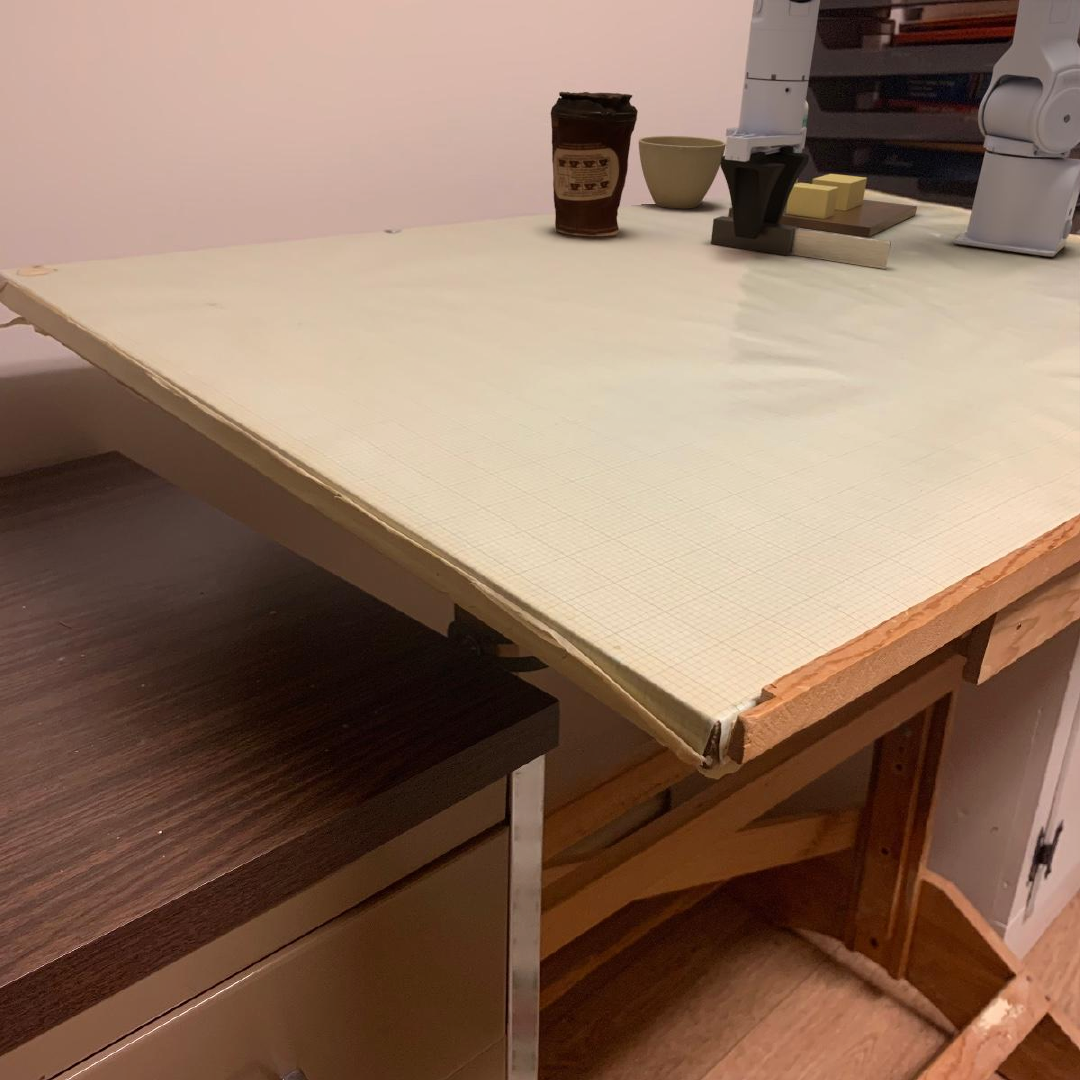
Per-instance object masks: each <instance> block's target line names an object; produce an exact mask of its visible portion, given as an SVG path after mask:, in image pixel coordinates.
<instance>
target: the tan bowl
mask: <svg viewBox="0 0 1080 1080" xmlns="http://www.w3.org/2000/svg"><path fill="white" fill-rule="evenodd" d="M726 143H727V142H726V141H723V140H721V139H718V138H717V139H716V138H710V137H704V136H703V137H701V136H700V137H699V136H689V135H651V136H650V135H649V136H643V137H640V138H638V154H639V158H640V159H639V160H640V166H641V171H642V174H643V177H644V178H643V179H644V181H645V183H646V186H647V190H648V191H649V192H648V193H650V196H651V198H652V200H653V203H654V205H656V206H658V207H663V208H667V209H694V208H696V207H698V206H699V205H700V204H701V202H702V201H703V200H704V198H705V196H706V195H707V194H708V192H709V190H710V189H711V187H712V185H713V183H714V181H715V179H716V177H717V174H718V171H719V169H720V168H721V157H722V156H725V152H726Z"/></svg>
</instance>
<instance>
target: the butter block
mask: <svg viewBox="0 0 1080 1080" xmlns="http://www.w3.org/2000/svg"><path fill="white" fill-rule="evenodd" d="M867 181H868V177H865V176H857V175H848V174H847V175H845V174H838V173H828V174H824V175H822V176H818V177H815V178H812V181H811V184H816V185H824V186H833V187H838V191H837V197H836V203H835V209H834V210H841V211H847V210H849V209H852V208H855V207H857V206H860V205H862V203H863V200H864V197H865V192H866V186H867Z"/></svg>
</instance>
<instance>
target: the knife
mask: <svg viewBox="0 0 1080 1080" xmlns="http://www.w3.org/2000/svg"><path fill="white" fill-rule="evenodd" d="M710 237H711V238H710V245H716V246H723V247H728V248H729V247H730V248H735V249H743V250H748V251H754V252H761V253H768V254H774V255H781V256H785V257H786V256H787V257H788V256H790V255H792V256H797V257H805V258H812V259H817V260H824V261H831V262H837V263H843V264H849V265H850V264H851V265H856V266H862V267H868V268H876V269H881V270H882V269H883V270H886V268H887V265H888V261H889V255H890V250H891V246H892V241H890V240H884V239H883V240H882V239H876V238H875V239H874V238H870V237H863V236H856V235H849V234H842V233H835V232H828V231H821V230H814V229H807V228H800V227H796V226H789V225H782V224H774V223H767V222H763V224H762V228H761V231H760V233H759V236H758V238H757V239H749V238H742V237H736V236H735V231H734V223H733V218H732V217H728V216H724V215H722V216H718V217H714V218H713V220H712V228H711V236H710Z"/></svg>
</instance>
